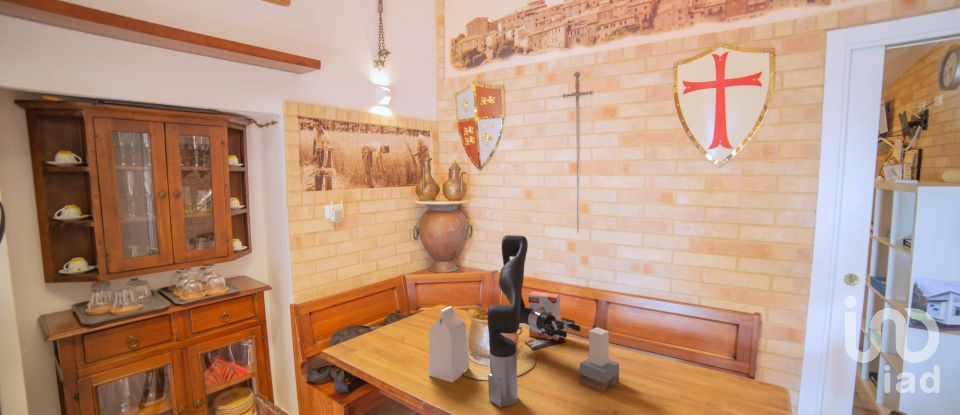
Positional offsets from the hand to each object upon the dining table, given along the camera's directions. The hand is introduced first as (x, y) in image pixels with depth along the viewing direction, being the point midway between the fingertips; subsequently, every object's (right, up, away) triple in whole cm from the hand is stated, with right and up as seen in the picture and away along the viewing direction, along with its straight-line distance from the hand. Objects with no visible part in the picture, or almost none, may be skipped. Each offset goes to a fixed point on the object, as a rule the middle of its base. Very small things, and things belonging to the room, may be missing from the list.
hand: (573, 331), depth 152 cm
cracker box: (-5, -14, +35) cm, 38 cm away
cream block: (+8, -9, -8) cm, 14 cm away
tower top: (+8, -13, -8) cm, 17 cm away
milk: (-49, -18, +4) cm, 52 cm away
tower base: (+8, -17, -7) cm, 20 cm away
